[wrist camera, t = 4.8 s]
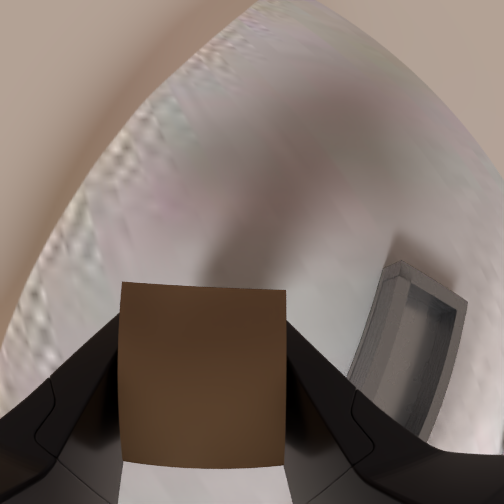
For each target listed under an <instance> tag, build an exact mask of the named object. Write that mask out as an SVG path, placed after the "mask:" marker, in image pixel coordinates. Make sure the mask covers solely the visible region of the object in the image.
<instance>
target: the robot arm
mask: <svg viewBox="0 0 504 504" xmlns="http://www.w3.org/2000/svg"><path fill="white" fill-rule="evenodd" d="M119 315H120V313H118V314H117V315H116V316H115V317H114V318H113V319H112V320H110V321H109V322H108V323H107V324H106V325H105V326H104V327H103V328H102V329H100V330H99V331H98V332H97V333H96V334H95V335H94V336H93V337H91V338H90V339H89V340H88V341H87V342H86V343H85V344H84V345H83V346H82V347H81V348H79V349H78V350H77V351H76V352H75V353H74V354H73V355H72V356H71V357H70V358H69V359H67V360H66V361H65V362H64V363H63V364H62V365H61V366H60V367H59V368H58V369H57V370H56V371H55V372H54V373H53V374H52V375H50V378H47V379H46V380H45V381H44V382H43V383H42V384H41V385H40V386H39V387H38V388H37V389H35V390H34V391H33V392H32V393H31V394H30V395H29V396H28V397H27V398H25V399H24V400H23V401H22V402H21V403H19V404H18V405H17V406H16V407H15V408H13V409H12V410H11V411H9V412H8V413H7V414H6V415H4V416H3V417H2V418H1V419H0V504H118V497H119V489H120V482H121V474H122V468H123V460H122V450H121V439H120V426H119V407H118V335H119ZM284 469H285V474H286V478H287V482H288V486H289V490H290V494H291V498H292V502H293V504H504V455H484V454H467V453H455V452H447V451H443V450H440V449H437V448H435V447H433V446H431V445H429V444H428V443H426V442H425V441H423V440H422V439H420V438H419V437H417V436H416V435H415V434H413V433H412V432H410V431H409V430H408V429H406V428H405V427H404V426H402V425H401V424H399V423H398V422H397V421H395V420H394V419H393V418H391V417H390V416H389V415H388V414H386V413H385V412H384V411H382V410H381V409H380V408H379V407H378V406H376V405H375V404H374V403H373V402H372V401H371V400H370V399H369V398H367V397H366V396H365V395H364V394H363V393H362V392H361V391H360V390H359V389H357V390H356V386H354V385H353V384H352V383H351V382H350V381H349V380H348V379H347V378H346V377H345V376H344V375H343V374H342V373H341V372H340V371H339V370H338V369H337V368H335V367H334V366H333V365H332V364H331V363H330V362H329V361H328V360H327V359H326V358H325V357H324V356H323V355H322V354H321V353H320V352H319V351H318V350H317V349H316V348H315V347H314V346H313V345H312V344H311V343H309V342H308V341H307V340H306V339H305V338H304V337H303V336H302V335H301V334H300V333H299V332H298V331H297V330H296V329H295V328H294V327H293V326H292V325H291V324H290V323H289V322H288V321H287V320H286V422H285V455H284Z"/></svg>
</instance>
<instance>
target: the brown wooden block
mask: <svg viewBox="0 0 504 504" xmlns="http://www.w3.org/2000/svg"><path fill="white" fill-rule="evenodd" d="M118 407H119V426H120V439H121V450H122V460H123V461H126V462H133V463H140V464H147V465H156V466H167V467H180V468H201V469H236V468H258V467H271V466H281V465H284V455H285V422H286V290H268V289H239V288H216V287H196V286H178V285H162V284H147V283H133V282H122V289H121V301H120V315H119V335H118Z"/></svg>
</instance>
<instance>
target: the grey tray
mask: <svg viewBox="0 0 504 504" xmlns="http://www.w3.org/2000/svg"><path fill="white" fill-rule="evenodd" d="M467 305H468V302H467V301H466V300H464V299H463V298H461V297H460V296H458V295H457V294H455V293H454V292H452V291H451V290H449V289H448V288H446V287H444V286H443V285H441V284H440V283H438V282H437V281H435V280H433V279H432V278H430V277H429V276H427V275H425V274H424V273H422V272H420V271H419V270H417V269H416V268H414V267H412V266H411V265H409V264H407V263H406V262H404V261H402V260H401V261H399V262H396V263H394V264H392V265H390V266H388V267H385V268H383V270H382V274H381V278H380V281H379V285H378V288H377V292H376V295H375V298H374V302H373V305H372V308H371V311H370V314H369V317H368V320H367V323H366V326H365V329H364V332H363V335H362V338H361V341H360V343H359V346H358V349H357V352H356V354H355V357H354V360H353V362H352V365H351V367H350V370H349V373H348V375H347V377H346V378H347V379H348V380H349V381H350V382H351V383H352V384H353V385H354V386H356V390H357V389H359V390H360V391H361V392H362V393H363V394H364V395H365V396H366V397H367V398H369V399H370V400H371V401H372V402H373V403H374V404H375V405H376V406H378V407H379V408H380V409H381V410H382V411H384V412H385V413H386V414H388V415H389V416H390V417H391V418H393V419H394V420H395V421H397V422H398V423H399V424H401V425H402V426H404V427H405V428H406V429H408V430H409V431H410V432H412V433H413V434H415V435H416V436H417V437H419V438H420V439H422V440H423V441H425V442H427V440H428V438H429V435H430V433H431V431H432V428H433V426H434V423H435V421H436V418H437V415H438V413H439V410H440V407H441V405H442V402H443V399H444V396H445V393H446V390H447V387H448V384H449V380H450V377H451V374H452V370H453V367H454V363H455V359H456V355H457V351H458V347H459V343H460V339H461V334H462V329H463V325H464V319H465V315H466V311H467Z"/></svg>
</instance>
